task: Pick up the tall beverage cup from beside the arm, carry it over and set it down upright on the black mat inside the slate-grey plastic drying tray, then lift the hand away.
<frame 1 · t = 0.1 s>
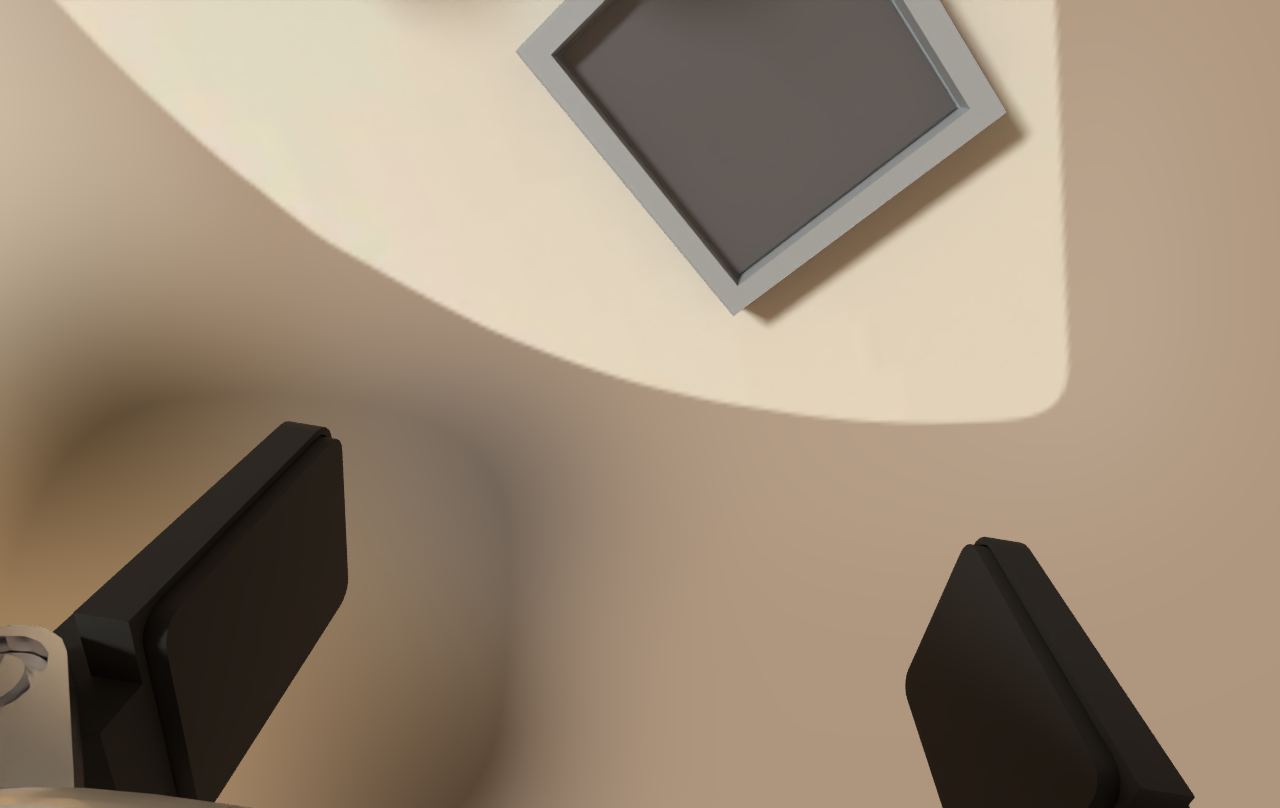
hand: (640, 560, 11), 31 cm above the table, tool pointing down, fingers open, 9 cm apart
drying tray: (755, 79, 36), on the table
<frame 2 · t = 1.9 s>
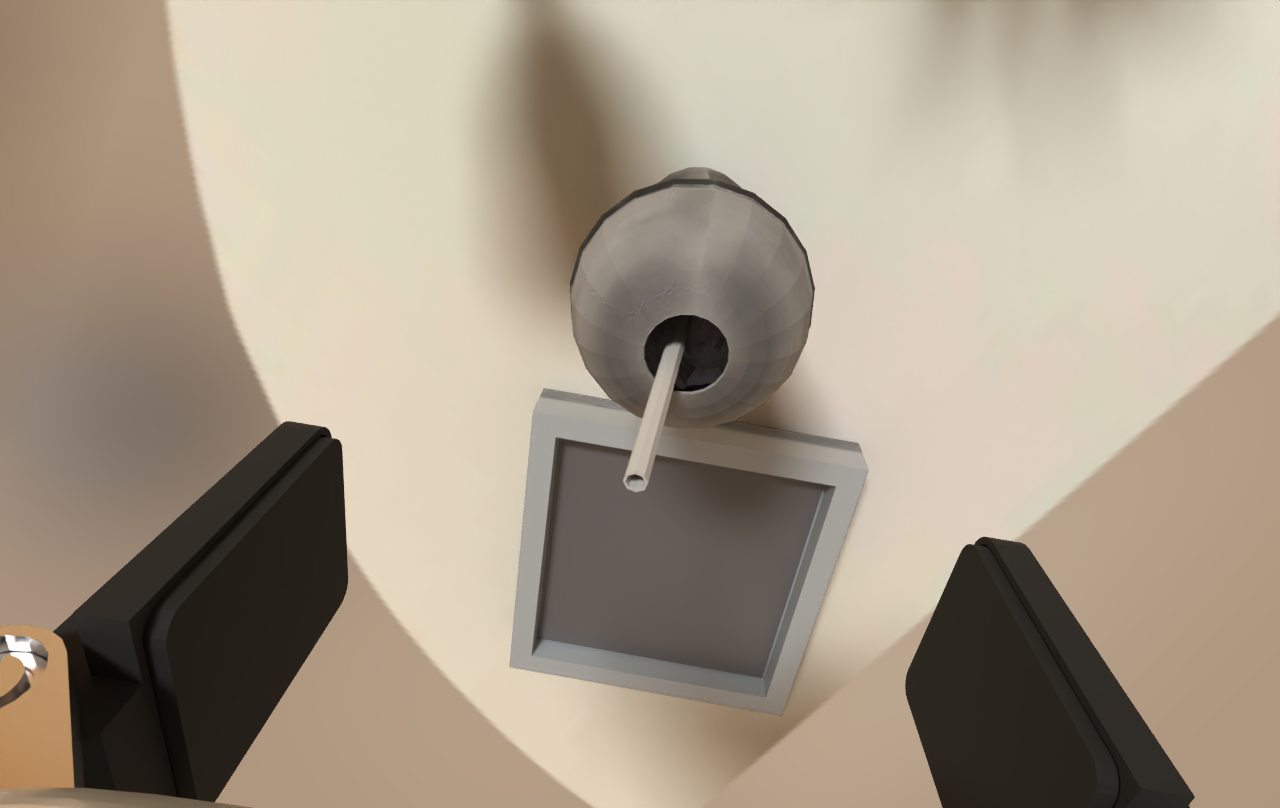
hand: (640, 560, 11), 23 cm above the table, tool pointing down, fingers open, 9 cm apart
beverage cup: (696, 219, 32), on the table
drying tray: (672, 548, 40), on the table
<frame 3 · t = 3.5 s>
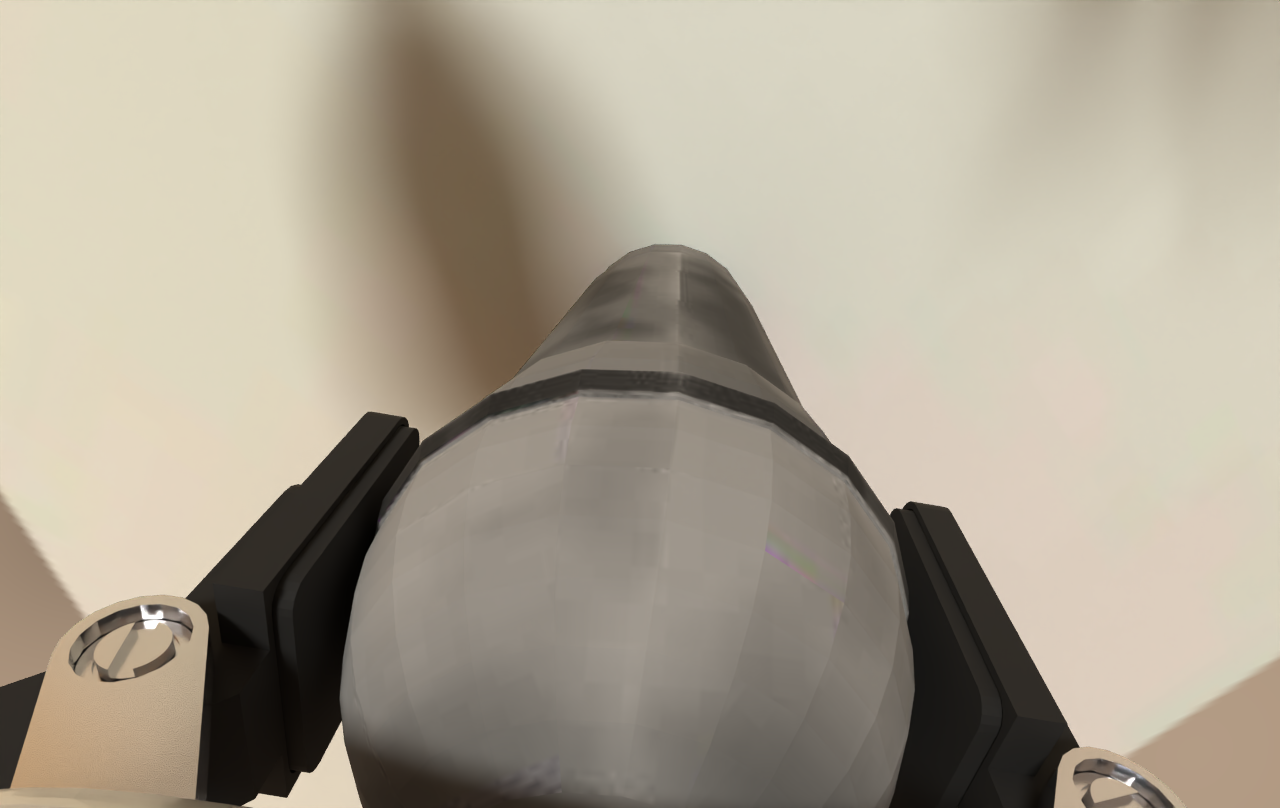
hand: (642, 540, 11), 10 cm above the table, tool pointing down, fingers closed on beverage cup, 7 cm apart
beverage cup: (667, 321, 20), on the table, touching gripper
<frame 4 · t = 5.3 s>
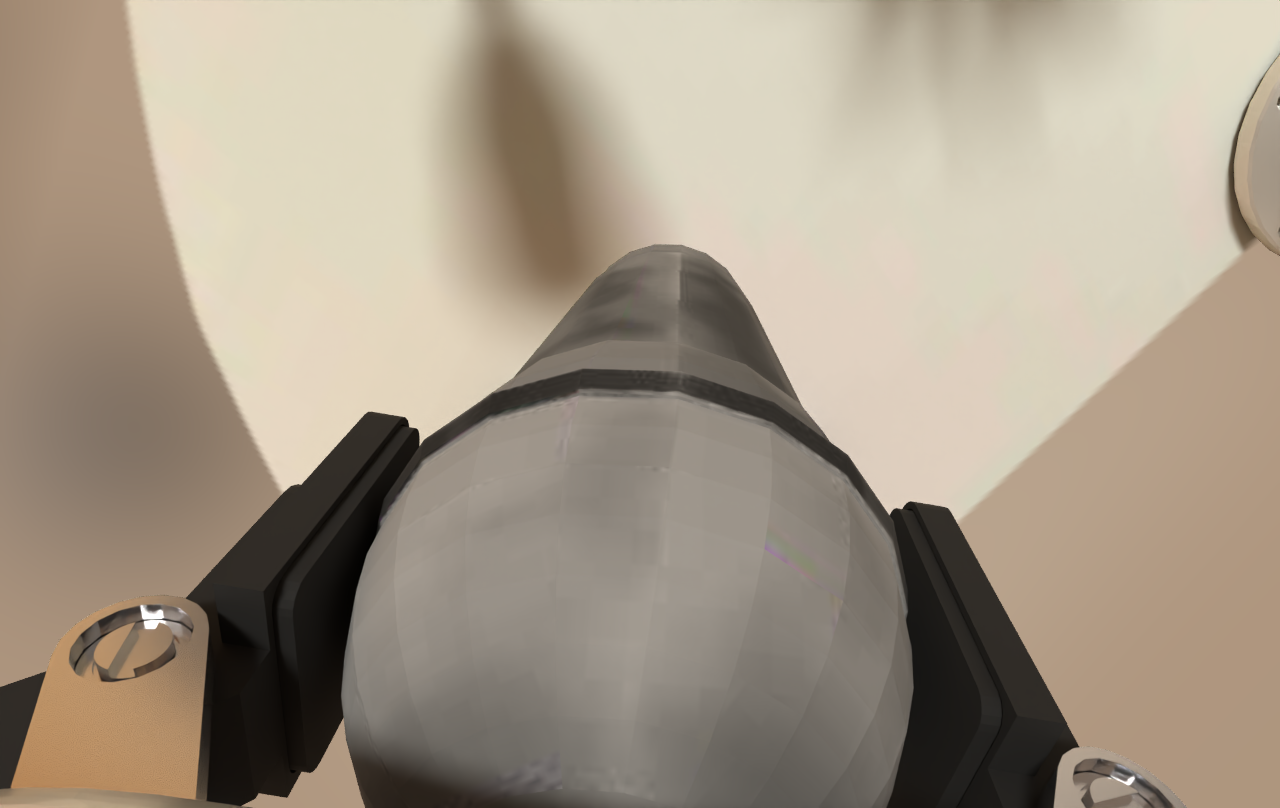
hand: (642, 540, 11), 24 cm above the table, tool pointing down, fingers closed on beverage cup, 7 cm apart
beverage cup: (667, 321, 20), point 14 cm above the table, touching gripper
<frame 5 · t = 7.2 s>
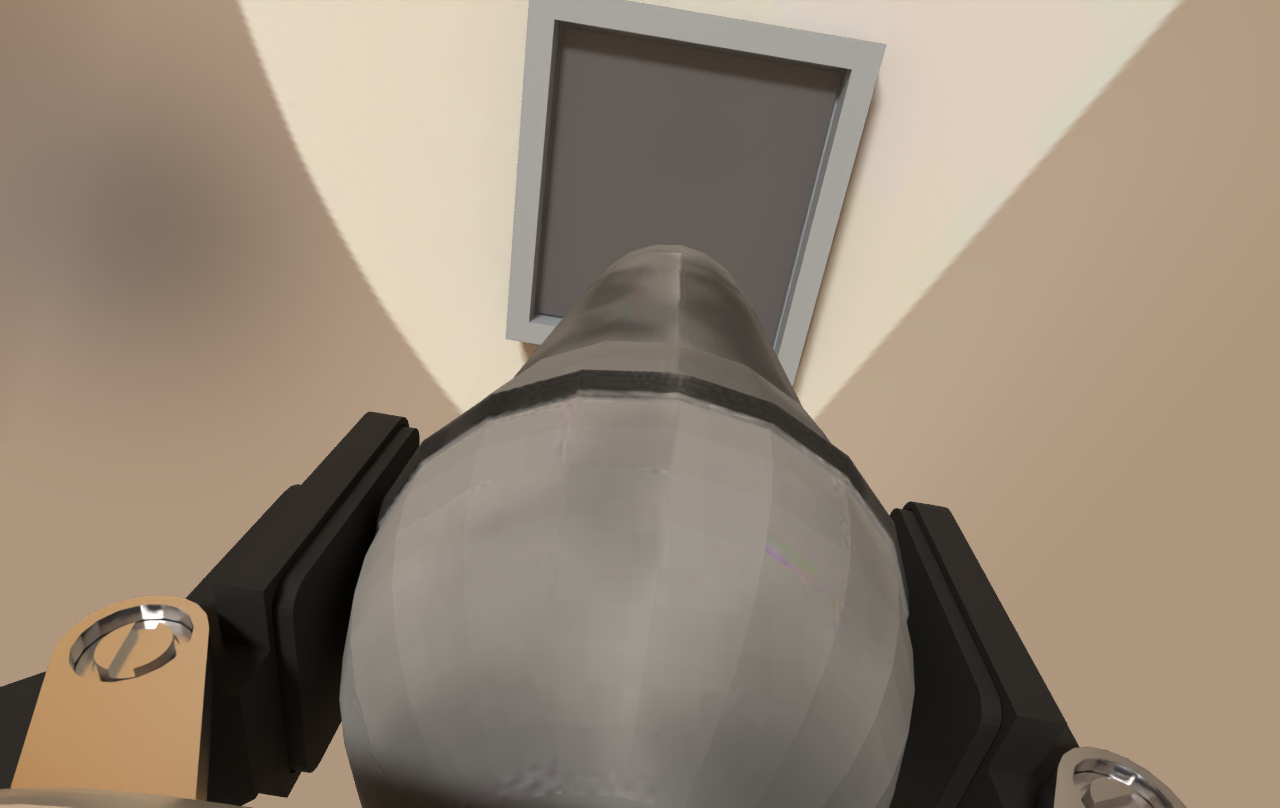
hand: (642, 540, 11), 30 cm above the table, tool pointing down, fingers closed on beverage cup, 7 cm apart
beverage cup: (667, 321, 20), point 19 cm above the table, touching gripper
drying tray: (676, 198, 38), on the table
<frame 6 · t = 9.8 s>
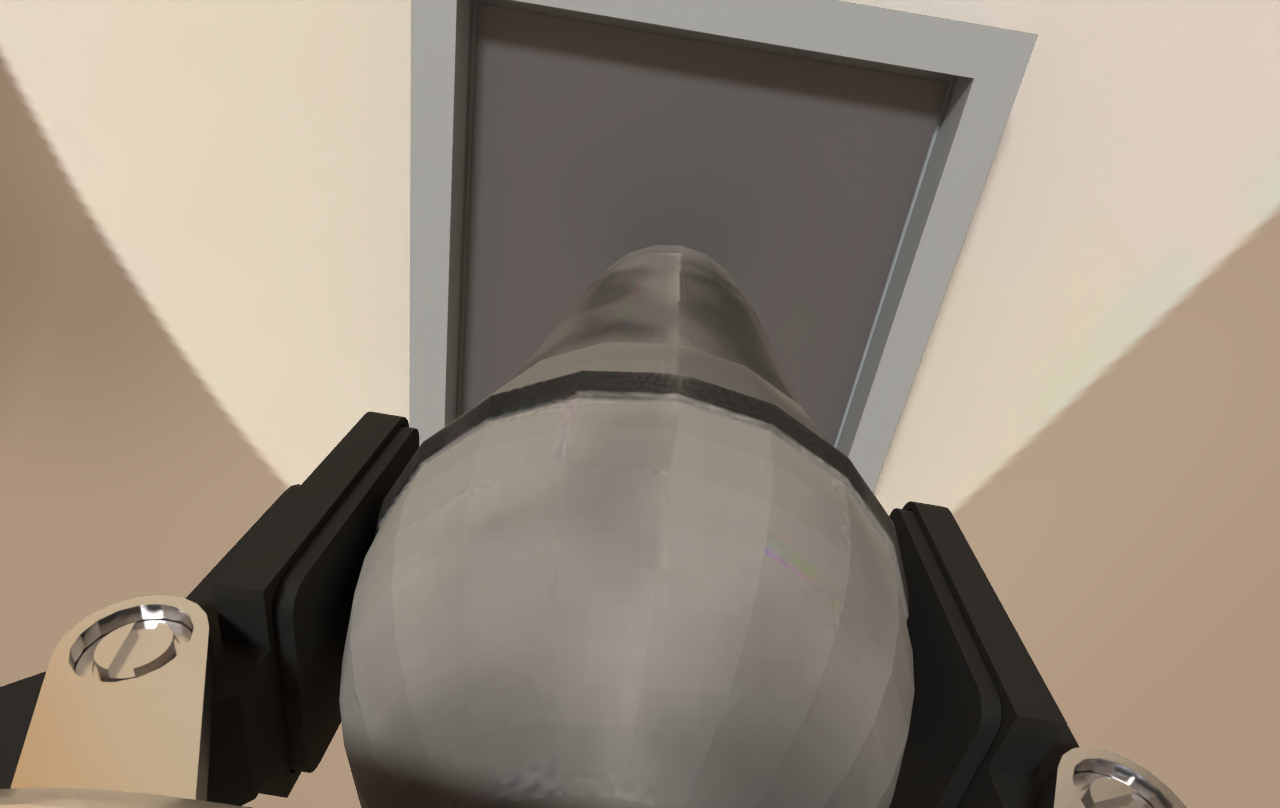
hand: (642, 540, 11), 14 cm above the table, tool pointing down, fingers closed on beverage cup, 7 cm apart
beverage cup: (667, 322, 20), point 4 cm above the table, touching gripper
drying tray: (671, 277, 24), on the table
when the fingers open (13 cm above the table, at t = 10.9 s): beverage cup drops 1 cm, resting on drying tray.
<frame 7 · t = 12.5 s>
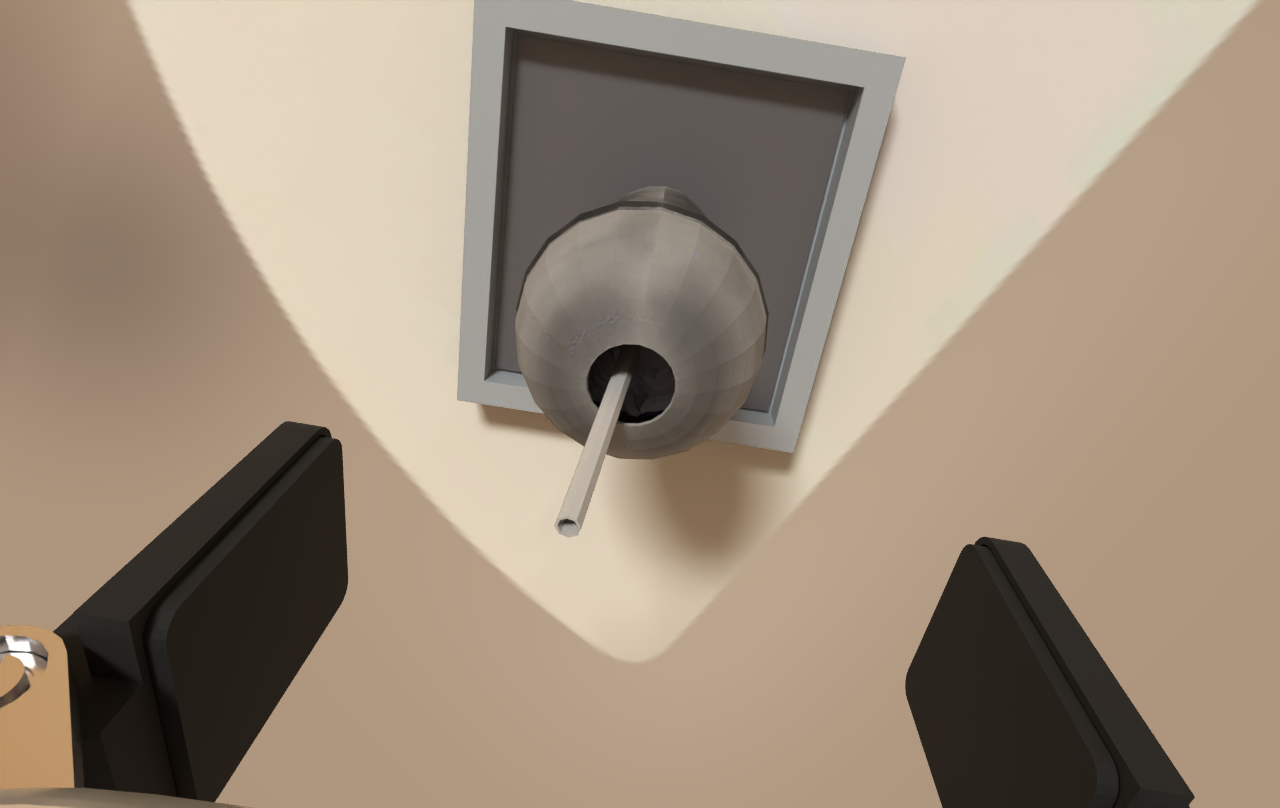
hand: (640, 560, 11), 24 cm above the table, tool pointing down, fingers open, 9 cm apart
beverage cup: (657, 238, 31), point 1 cm above the table, touching drying tray
drying tray: (656, 235, 32), on the table
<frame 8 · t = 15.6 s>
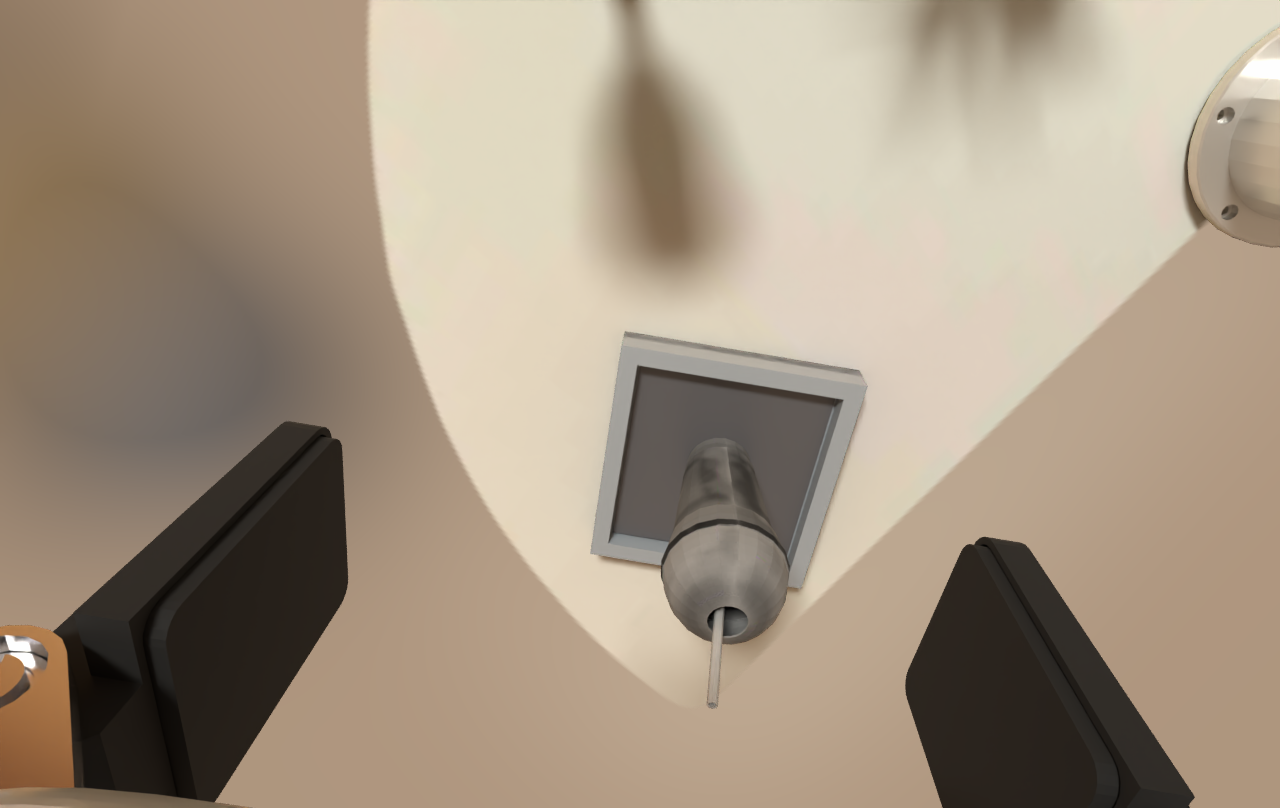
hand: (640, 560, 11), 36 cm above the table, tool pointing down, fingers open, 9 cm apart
beverage cup: (718, 464, 51), point 1 cm above the table, touching drying tray
drying tray: (717, 458, 52), on the table
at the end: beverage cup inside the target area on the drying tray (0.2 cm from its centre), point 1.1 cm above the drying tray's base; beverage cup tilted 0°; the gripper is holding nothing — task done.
